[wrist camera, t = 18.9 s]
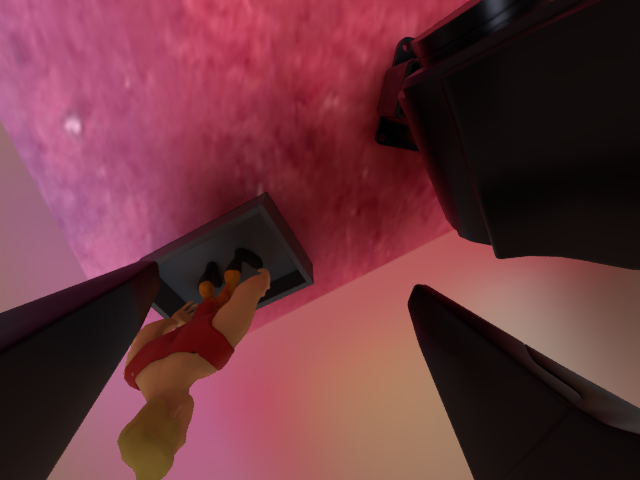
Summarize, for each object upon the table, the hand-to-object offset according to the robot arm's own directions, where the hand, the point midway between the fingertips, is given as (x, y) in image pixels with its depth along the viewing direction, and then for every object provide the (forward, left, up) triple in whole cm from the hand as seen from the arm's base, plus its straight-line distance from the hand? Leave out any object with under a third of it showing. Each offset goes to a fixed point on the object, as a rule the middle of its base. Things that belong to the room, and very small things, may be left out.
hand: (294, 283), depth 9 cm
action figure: (+5, +8, -13) cm, 16 cm away
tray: (+5, +8, -13) cm, 16 cm away
